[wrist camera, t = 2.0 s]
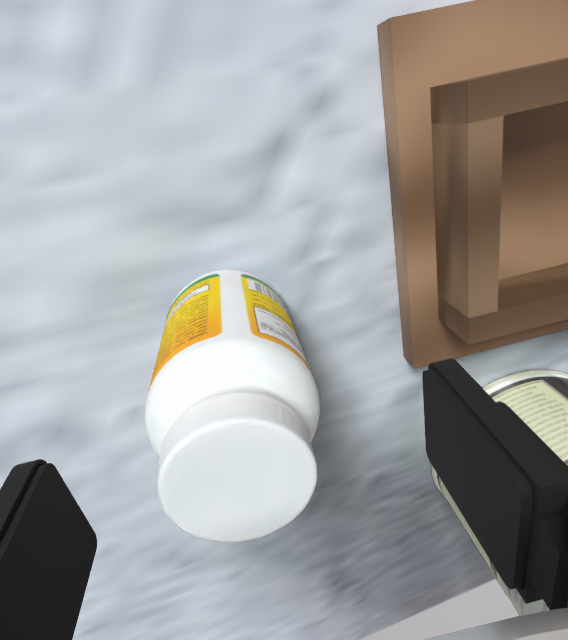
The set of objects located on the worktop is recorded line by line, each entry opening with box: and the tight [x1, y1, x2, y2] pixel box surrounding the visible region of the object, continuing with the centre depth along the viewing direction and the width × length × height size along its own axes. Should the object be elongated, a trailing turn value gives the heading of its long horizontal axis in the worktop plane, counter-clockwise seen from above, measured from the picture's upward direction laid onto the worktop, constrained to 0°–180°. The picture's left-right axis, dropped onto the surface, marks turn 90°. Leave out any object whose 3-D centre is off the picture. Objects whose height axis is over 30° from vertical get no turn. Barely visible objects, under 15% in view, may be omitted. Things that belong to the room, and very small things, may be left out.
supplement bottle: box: [145, 270, 320, 542], centre depth 15 cm, size 5×5×10 cm
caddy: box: [377, 0, 568, 368], centre depth 17 cm, size 14×12×4 cm
